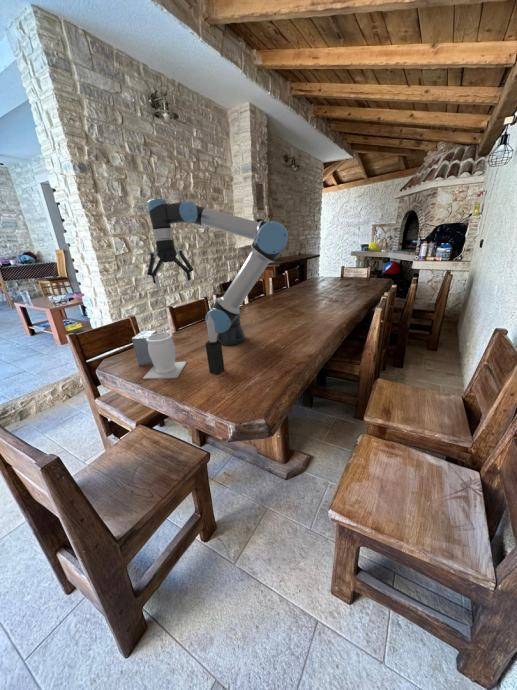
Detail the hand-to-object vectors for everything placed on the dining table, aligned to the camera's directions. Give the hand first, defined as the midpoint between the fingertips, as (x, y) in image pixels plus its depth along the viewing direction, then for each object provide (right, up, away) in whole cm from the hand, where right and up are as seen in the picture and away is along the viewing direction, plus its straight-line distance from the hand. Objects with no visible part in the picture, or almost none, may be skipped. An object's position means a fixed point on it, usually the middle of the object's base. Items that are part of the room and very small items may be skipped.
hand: (174, 289), depth 127 cm
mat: (-1, -37, -8) cm, 38 cm away
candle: (+22, -37, -12) cm, 44 cm away
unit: (-12, -33, +3) cm, 35 cm away
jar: (-1, -36, -9) cm, 37 cm away
